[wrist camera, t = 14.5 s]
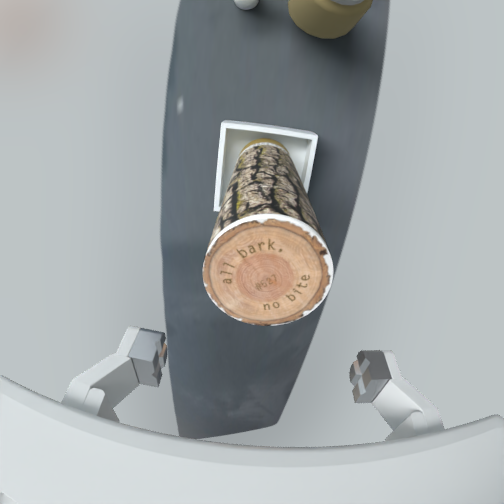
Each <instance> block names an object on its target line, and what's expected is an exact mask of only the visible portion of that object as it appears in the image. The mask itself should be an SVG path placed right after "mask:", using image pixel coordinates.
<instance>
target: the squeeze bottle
mask: <svg viewBox="0 0 504 504" xmlns="http://www.w3.org/2000/svg"><path fill="white" fill-rule="evenodd" d="M372 1H373V0H289V2H288V8H289V15H290V16H291V18H292V19H293V21H294V22H295V24H296V25H297V26H298V27H299V28H301V29H302V30H303V31H305V32H306V33H307V34H310V35H313V36H316V37H318V38H331V39H334V38H337V37H340V36H343V35H346V34H347V33H348V32H349V31H350V30H351V29H352V28H353V27H354V26H355V25H356V24H357V22H358V21H359V20H360V19H361V18H362V16H363V15H364V14H365V13H366V12H367V10H368V9H369V8H370V7H371V4H372Z"/></svg>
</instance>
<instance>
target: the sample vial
mask: <svg viewBox="0 0 504 504" xmlns="http://www.w3.org/2000/svg"><path fill="white" fill-rule="evenodd" d="M234 2H235V4H236V6H237V7H238V8H240V9H243V10H249V9H252V8H254V7H256V6H257V4H258V2H259V0H234Z"/></svg>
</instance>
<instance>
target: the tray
mask: <svg viewBox="0 0 504 504" xmlns="http://www.w3.org/2000/svg"><path fill="white" fill-rule="evenodd" d="M260 138H269V139H273V140H276V141H278V142H279V143H281V144H282V145H283V146H284V147H285V148H286V149H287V151H288V152H289V154H290V157H291V158H292V161H293V163H294V165H295V167H296V170H297V172H298V174H299V177H300V179H301V181H302V184H303V186H304V188H305V191H306V193H307V192H308V187H309V182H310V177H311V172H312V166H313V161H314V156H315V150H316V145H317V139H318V135H316V134H315V133H314V132H312V131H306V130H300V129H294V128H288V127H281V126H275V125H267V124H260V123H251V122H243V121H233V120H224V121H223V122H222V123H221V132H220V142H219V153H218V164H217V175H216V187H215V200H214V211H220V208H221V205H222V202H223V199H224V197H225V194H226V191H227V188H228V185H229V182H230V179H231V176H232V173H233V170H234V168H235V165H236V162H237V159H238V157H239V154H240V152H241V150H242V149H243V148H244V147H245V146H246V145H247V144H248V143H249V142H251V141H253V140H256V139H260Z"/></svg>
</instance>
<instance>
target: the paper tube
mask: <svg viewBox="0 0 504 504" xmlns="http://www.w3.org/2000/svg"><path fill="white" fill-rule="evenodd" d="M332 279H333V263H332V259H331V255H330V252H329V249H328V246H327V243H326V241H325V238H324V236H323V233H322V230H321V228H320V225H319V223H318V220H317V218H316V215H315V213H314V210H313V208H312V205H311V203H310V200H309V198H308V195H307V193H306V191H305V188H304V186H303V184H302V181H301V179H300V177H299V174H298V172H297V170H296V167H295V165H294V163H293V161H292V158H291V157H290V154H289V152H288V151H287V149H286V148H285V147H284V146H283V145H282V144H281V143H279V142H278V141H276V140H273V139H269V138H260V139H256V140H253V141H251V142H249V143H248V144H247V145H246V146H245V147H244V148H243V149H242V150H241V152H240V154H239V157H238V159H237V162H236V165H235V168H234V170H233V173H232V176H231V179H230V182H229V185H228V188H227V191H226V194H225V197H224V199H223V202H222V205H221V208H220V211H219V214H218V217H217V221H216V224H215V227H214V230H213V233H212V236H211V239H210V242H209V245H208V248H207V252H206V255H205V259H204V264H203V281H204V285H205V288H206V291H207V293H208V295H209V296H210V298H211V299H212V301H213V302H214V303H215V304H216V305H217V306H218V307H219V308H220V309H221V310H222V311H223V312H225V313H226V314H228V315H229V316H231V317H233V318H235V319H237V320H239V321H242V322H245V323H249V324H254V325H262V326H272V325H281V324H286V323H289V322H293V321H295V320H298V319H300V318H302V317H304V316H306V315H307V314H309V313H310V312H312V311H313V310H314V309H315V308H316V307H317V306H318V305H319V304H320V303H321V302H322V301H323V300H324V298H325V297H326V295H327V293H328V291H329V289H330V287H331V284H332Z"/></svg>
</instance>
